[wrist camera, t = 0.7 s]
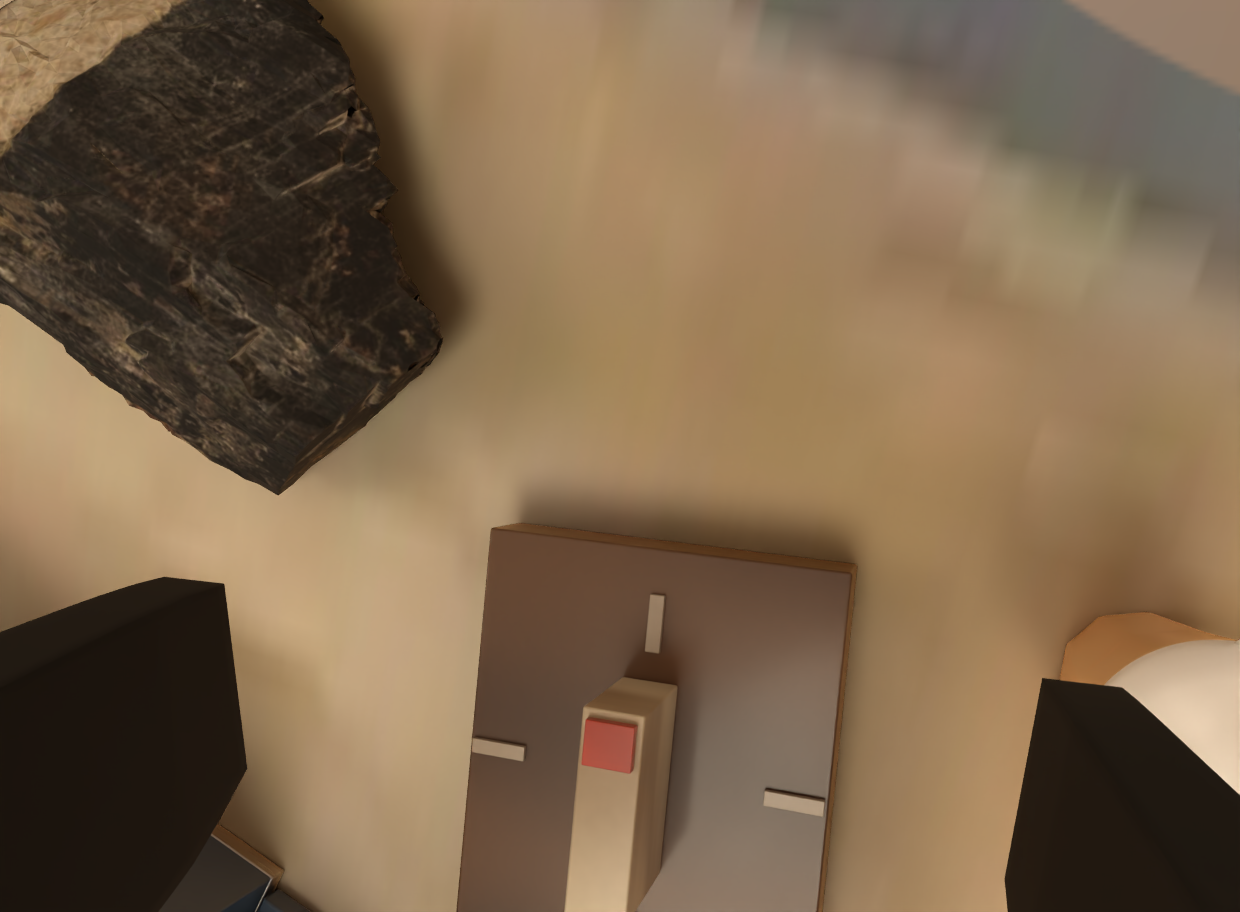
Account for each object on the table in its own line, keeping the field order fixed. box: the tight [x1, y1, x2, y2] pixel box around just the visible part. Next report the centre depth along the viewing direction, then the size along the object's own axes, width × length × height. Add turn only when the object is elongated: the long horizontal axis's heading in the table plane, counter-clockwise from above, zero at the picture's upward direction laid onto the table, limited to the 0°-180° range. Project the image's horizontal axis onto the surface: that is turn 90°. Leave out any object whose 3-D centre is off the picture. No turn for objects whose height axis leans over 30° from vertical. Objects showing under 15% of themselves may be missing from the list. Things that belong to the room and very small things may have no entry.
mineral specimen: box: [0, 0, 443, 495], centre depth 28 cm, size 13×7×15 cm
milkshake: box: [1059, 612, 1240, 795], centre depth 21 cm, size 4×5×10 cm
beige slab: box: [564, 677, 678, 912], centre depth 25 cm, size 5×1×4 cm, turn 175°
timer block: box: [457, 523, 857, 912], centre depth 27 cm, size 11×9×2 cm
